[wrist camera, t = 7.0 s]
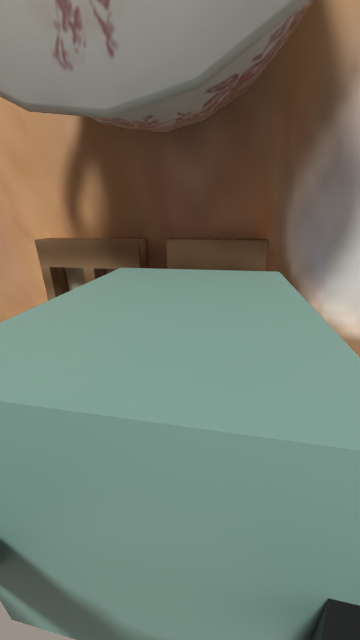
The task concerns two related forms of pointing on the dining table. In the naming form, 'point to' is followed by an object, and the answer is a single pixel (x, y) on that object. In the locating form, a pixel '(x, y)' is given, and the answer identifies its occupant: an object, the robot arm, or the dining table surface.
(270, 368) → the block
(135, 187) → the dining table surface
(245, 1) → the chamber pot
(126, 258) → the build board
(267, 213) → the dining table surface
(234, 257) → the board
